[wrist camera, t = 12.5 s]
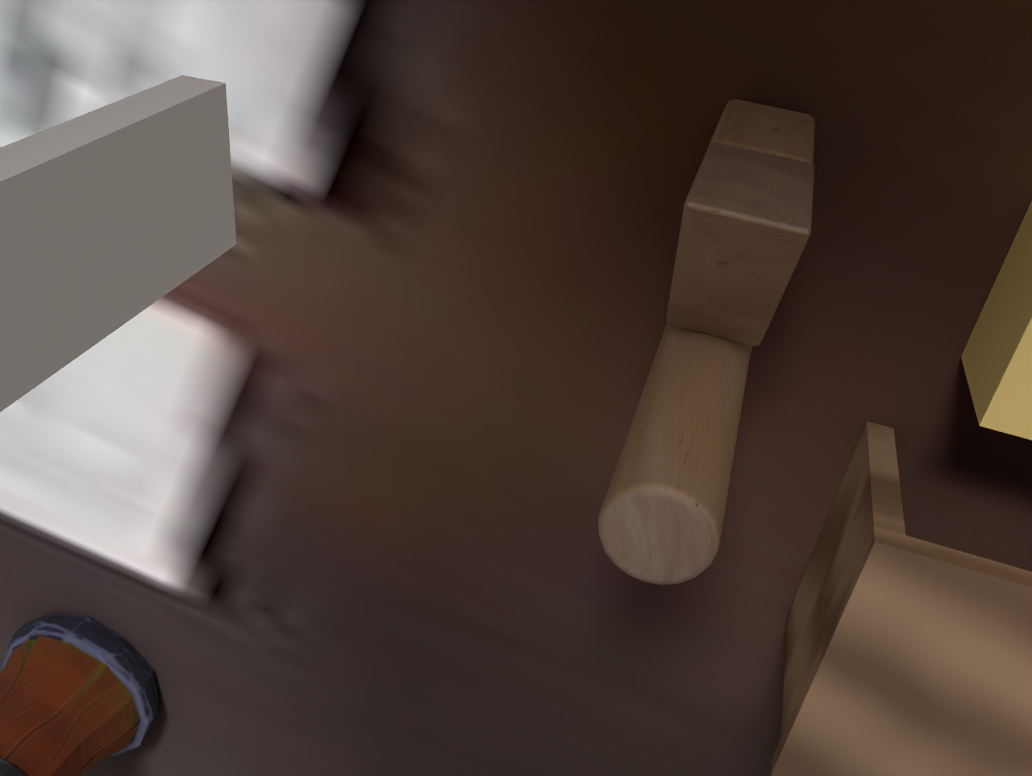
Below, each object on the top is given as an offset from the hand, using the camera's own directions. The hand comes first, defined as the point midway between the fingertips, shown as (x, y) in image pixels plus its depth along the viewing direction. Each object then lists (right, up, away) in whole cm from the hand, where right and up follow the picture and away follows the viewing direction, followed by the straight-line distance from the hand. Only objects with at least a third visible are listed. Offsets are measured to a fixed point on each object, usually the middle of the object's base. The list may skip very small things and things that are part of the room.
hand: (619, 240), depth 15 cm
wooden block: (+8, +5, +27) cm, 29 cm away
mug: (-32, -25, +56) cm, 69 cm away
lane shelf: (+19, -10, +32) cm, 38 cm away
